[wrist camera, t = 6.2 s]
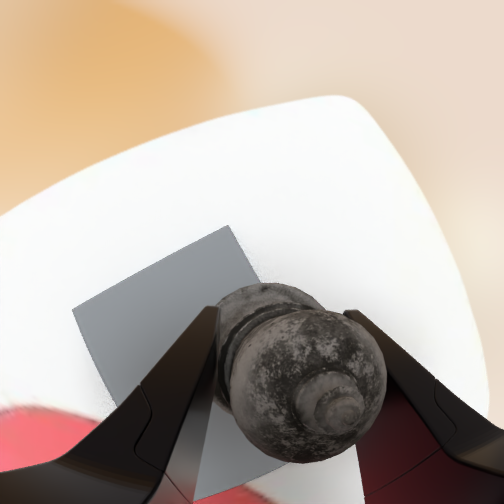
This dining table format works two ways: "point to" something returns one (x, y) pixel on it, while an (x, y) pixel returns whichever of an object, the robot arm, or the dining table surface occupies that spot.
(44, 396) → the dining table surface
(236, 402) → the dark grey chess piece
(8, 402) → the dining table surface
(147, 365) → the mat
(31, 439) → the dining table surface
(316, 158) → the dining table surface
